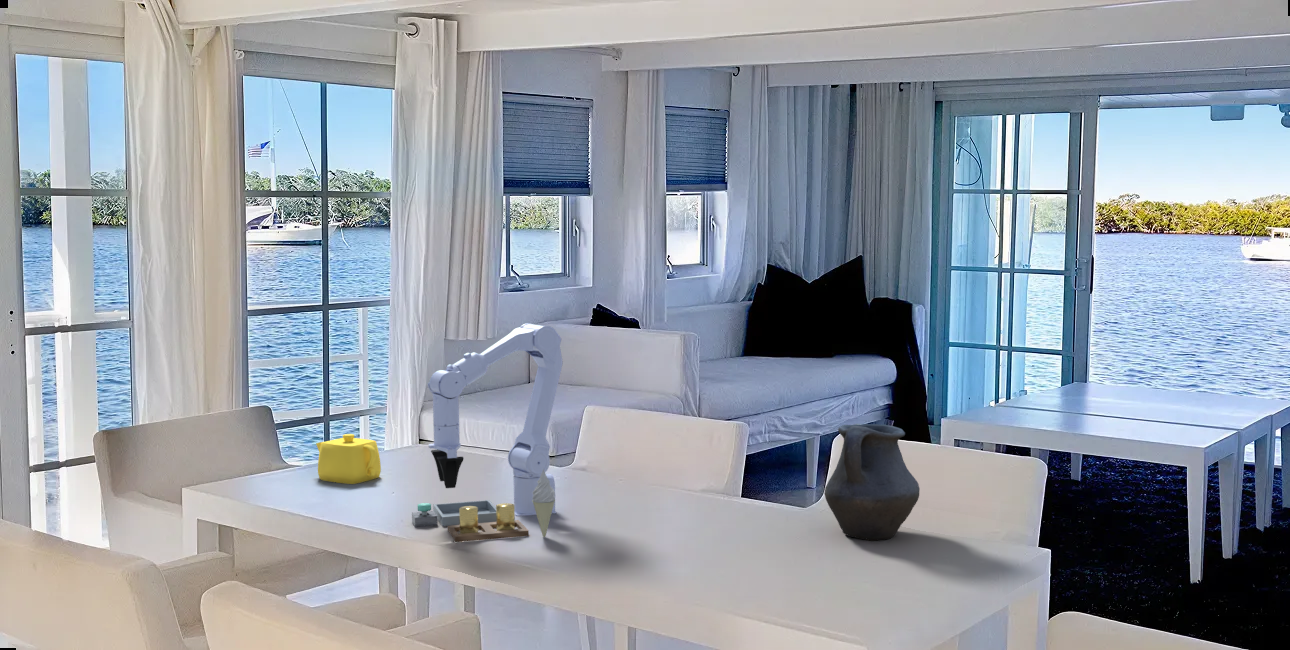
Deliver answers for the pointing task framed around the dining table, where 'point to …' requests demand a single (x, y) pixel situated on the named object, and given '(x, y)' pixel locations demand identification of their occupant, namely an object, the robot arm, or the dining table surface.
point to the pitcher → (871, 483)
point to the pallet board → (488, 532)
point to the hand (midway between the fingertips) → (447, 484)
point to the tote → (450, 511)
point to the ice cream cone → (543, 502)
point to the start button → (424, 508)
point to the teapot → (348, 460)
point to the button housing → (424, 519)
